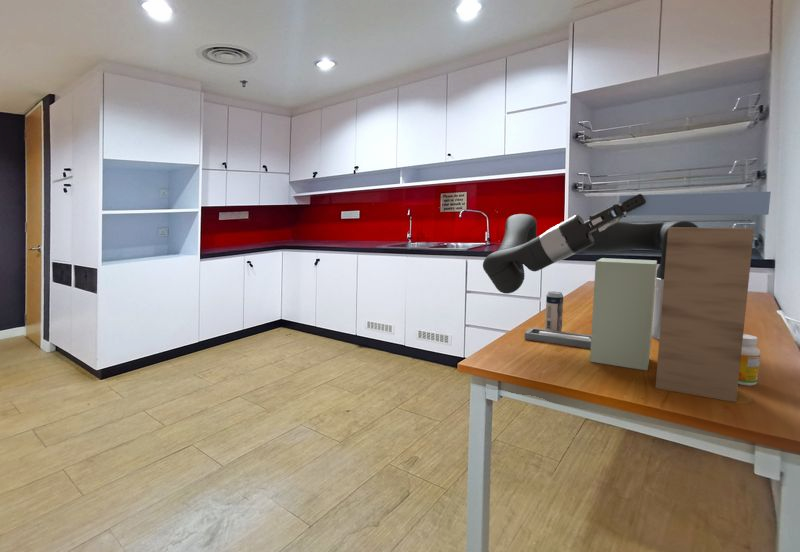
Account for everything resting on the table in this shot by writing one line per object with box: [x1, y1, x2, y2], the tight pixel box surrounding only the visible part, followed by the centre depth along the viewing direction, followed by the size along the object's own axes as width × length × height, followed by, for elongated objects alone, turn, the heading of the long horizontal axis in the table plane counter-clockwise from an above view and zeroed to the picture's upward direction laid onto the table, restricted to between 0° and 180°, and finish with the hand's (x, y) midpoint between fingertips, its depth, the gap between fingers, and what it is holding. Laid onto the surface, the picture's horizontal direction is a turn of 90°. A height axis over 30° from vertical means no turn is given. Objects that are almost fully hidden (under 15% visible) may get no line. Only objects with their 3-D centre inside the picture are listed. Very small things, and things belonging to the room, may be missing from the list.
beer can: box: [544, 291, 564, 332], centre depth 132 cm, size 5×5×12 cm
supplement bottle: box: [738, 333, 761, 386], centre depth 92 cm, size 5×5×10 cm
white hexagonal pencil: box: [539, 331, 591, 341], centre depth 122 cm, size 3×2×16 cm
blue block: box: [618, 191, 771, 217], centre depth 86 cm, size 4×24×4 cm, turn 58°
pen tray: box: [524, 327, 591, 350], centre depth 122 cm, size 7×22×2 cm, turn 58°
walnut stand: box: [655, 227, 755, 403], centre depth 87 cm, size 8×13×32 cm, turn 58°
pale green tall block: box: [589, 257, 658, 371], centre depth 105 cm, size 10×12×24 cm
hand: (644, 198), depth 90 cm, fingers closed on blue block, 4 cm apart
